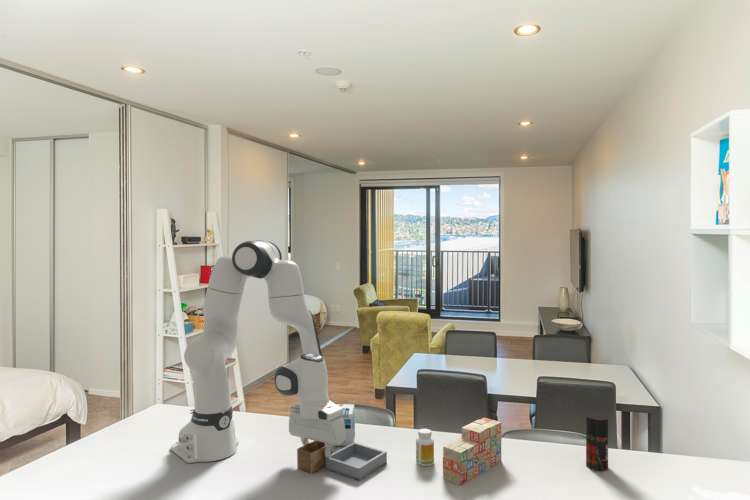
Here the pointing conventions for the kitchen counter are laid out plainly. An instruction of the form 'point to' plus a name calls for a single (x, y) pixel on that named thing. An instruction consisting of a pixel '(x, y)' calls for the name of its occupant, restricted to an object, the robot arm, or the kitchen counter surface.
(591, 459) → the deodorant
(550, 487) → the kitchen counter surface
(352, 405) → the light bulb box
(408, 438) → the kitchen counter surface
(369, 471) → the grey square tray
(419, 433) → the supplement bottle
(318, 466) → the small crate
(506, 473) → the kitchen counter surface
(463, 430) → the stack of blocks
